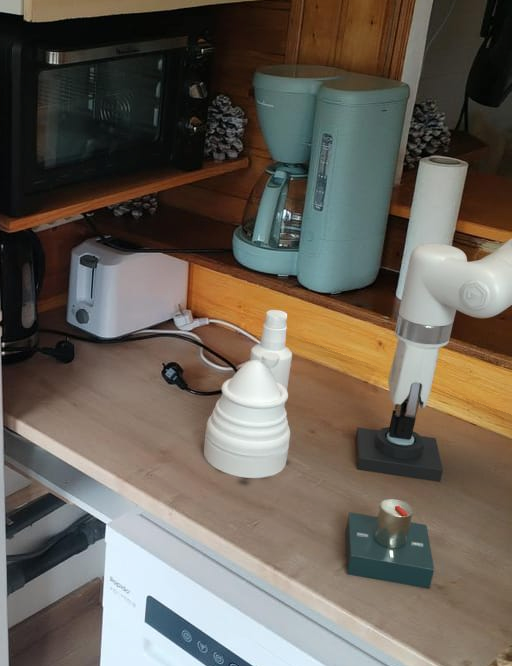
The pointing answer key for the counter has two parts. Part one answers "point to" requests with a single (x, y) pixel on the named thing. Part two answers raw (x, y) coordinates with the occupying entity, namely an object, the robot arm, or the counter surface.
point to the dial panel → (388, 553)
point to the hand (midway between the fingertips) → (399, 435)
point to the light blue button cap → (400, 440)
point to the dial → (393, 523)
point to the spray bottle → (275, 345)
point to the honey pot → (250, 423)
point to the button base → (397, 455)
